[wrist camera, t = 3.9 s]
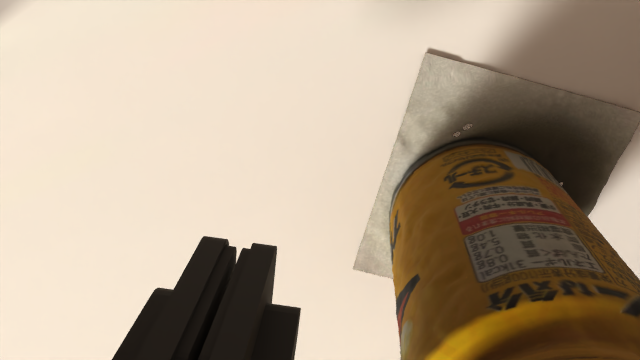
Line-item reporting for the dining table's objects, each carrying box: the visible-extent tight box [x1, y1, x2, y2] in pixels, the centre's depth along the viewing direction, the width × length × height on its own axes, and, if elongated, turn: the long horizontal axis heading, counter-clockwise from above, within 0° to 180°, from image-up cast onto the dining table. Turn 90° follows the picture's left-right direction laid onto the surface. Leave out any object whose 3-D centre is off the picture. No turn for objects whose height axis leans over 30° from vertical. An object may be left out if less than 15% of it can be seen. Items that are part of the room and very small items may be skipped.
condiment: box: [353, 53, 640, 360], centre depth 13 cm, size 7×8×12 cm
